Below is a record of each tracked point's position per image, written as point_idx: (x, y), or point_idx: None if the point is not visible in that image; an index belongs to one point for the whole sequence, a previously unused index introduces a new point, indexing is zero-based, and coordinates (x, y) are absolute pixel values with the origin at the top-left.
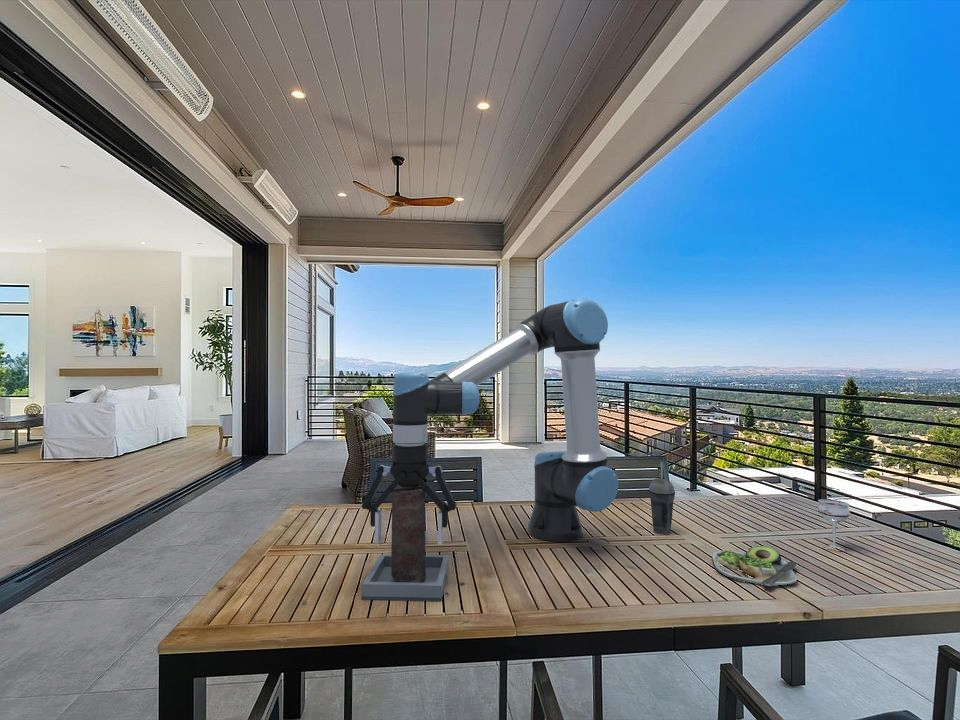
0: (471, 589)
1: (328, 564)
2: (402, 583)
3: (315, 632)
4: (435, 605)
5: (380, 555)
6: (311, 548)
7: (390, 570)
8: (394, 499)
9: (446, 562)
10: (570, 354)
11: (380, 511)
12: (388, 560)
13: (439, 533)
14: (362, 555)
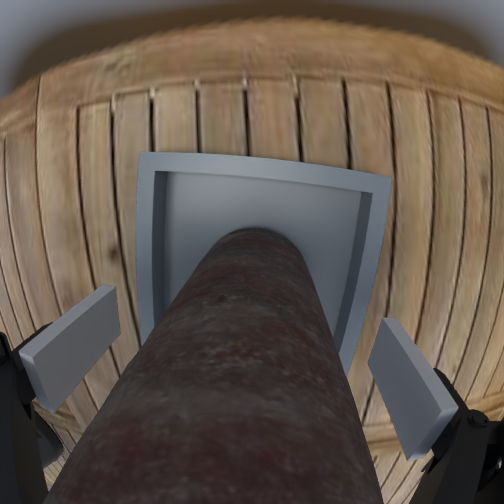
0: (92, 220)
1: (444, 371)
2: (264, 169)
3: (432, 49)
4: (171, 130)
5: None
6: None
7: None
8: (375, 499)
9: (141, 318)
10: None
11: (417, 441)
12: None
13: (85, 304)
14: (374, 416)
